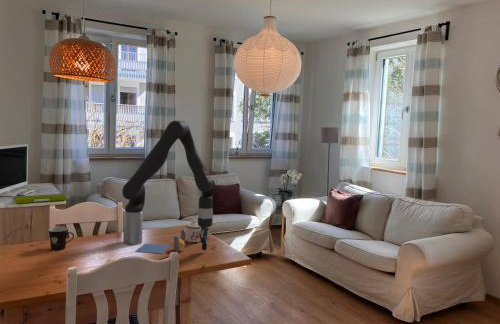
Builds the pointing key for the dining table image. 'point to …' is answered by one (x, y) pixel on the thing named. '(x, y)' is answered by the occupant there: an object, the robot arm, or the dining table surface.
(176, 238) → the post
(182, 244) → the ball
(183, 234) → the post
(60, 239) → the coffee mug
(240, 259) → the dining table surface
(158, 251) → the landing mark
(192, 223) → the teacup with lid
